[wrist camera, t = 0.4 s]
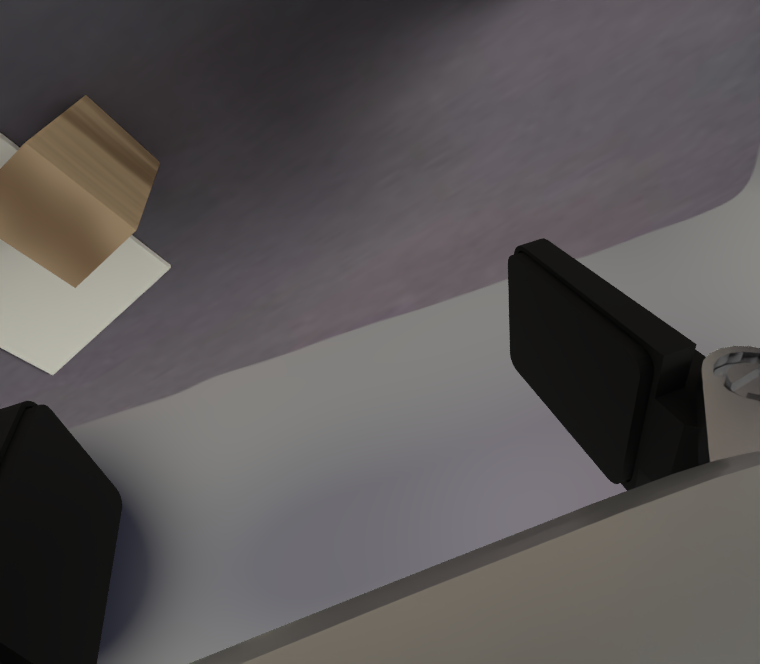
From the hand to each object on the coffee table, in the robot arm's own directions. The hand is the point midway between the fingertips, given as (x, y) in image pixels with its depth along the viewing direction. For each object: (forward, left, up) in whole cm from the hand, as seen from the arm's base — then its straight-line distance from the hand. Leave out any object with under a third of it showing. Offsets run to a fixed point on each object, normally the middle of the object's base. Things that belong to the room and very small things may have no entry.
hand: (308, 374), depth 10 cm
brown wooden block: (+11, -4, -33) cm, 35 cm away
